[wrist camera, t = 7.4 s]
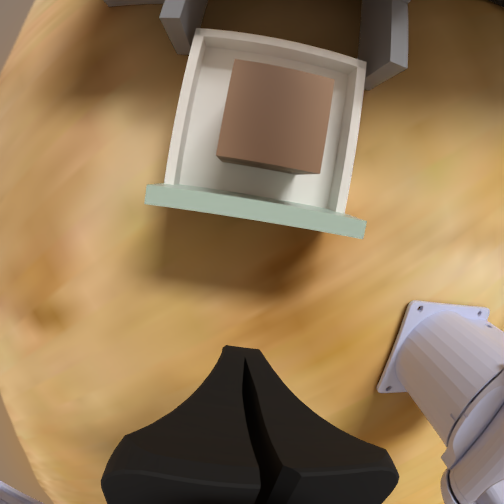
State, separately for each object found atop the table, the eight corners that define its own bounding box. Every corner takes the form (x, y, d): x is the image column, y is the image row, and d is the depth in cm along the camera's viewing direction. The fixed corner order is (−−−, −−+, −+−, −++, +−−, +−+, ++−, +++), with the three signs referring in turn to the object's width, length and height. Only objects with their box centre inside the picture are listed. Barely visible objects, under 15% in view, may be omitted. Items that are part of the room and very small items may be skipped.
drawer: (352, 75, 16) (389, 46, 11) (329, 222, 18) (363, 239, 13) (199, 45, 15) (187, 3, 10) (170, 196, 17) (144, 203, 12)
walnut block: (307, 105, 15) (334, 79, 11) (295, 174, 16) (320, 174, 11) (235, 91, 15) (234, 58, 10) (222, 161, 16) (216, 155, 11)
